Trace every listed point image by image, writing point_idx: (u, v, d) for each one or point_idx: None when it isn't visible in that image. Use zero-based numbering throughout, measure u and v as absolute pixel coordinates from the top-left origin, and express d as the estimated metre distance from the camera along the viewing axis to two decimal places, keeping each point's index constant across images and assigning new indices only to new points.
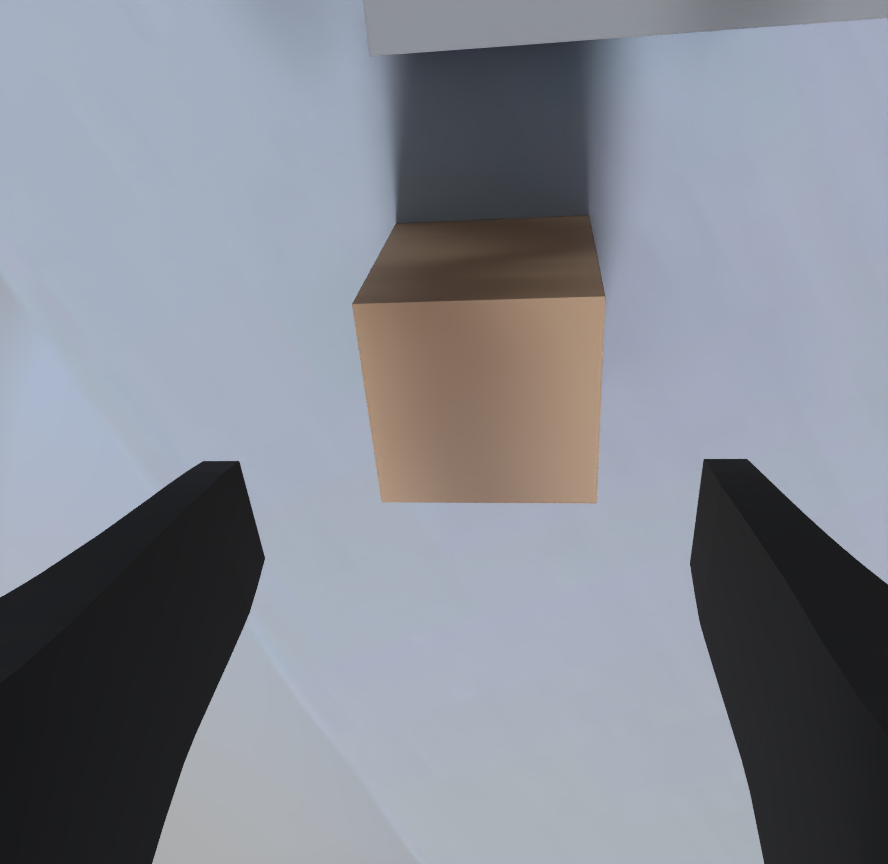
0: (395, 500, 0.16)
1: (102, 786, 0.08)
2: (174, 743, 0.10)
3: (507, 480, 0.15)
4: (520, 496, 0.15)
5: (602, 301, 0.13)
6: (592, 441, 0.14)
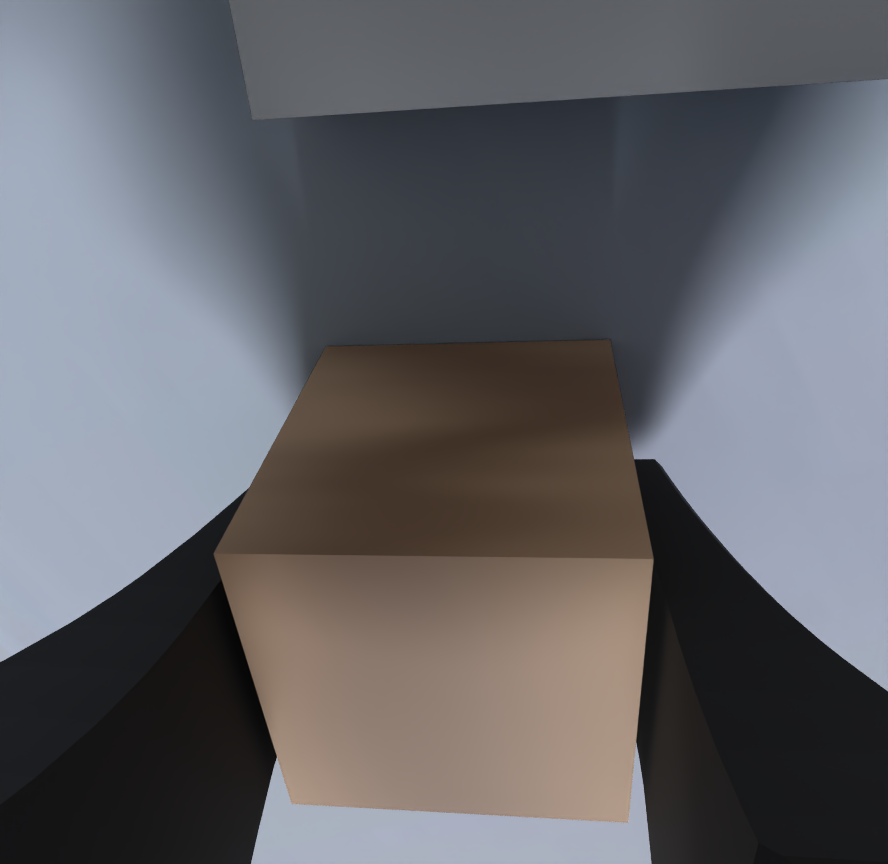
0: (312, 803, 0.10)
1: (211, 792, 0.08)
2: (266, 747, 0.10)
3: (486, 789, 0.10)
4: (507, 808, 0.10)
5: (648, 565, 0.07)
6: (624, 750, 0.09)
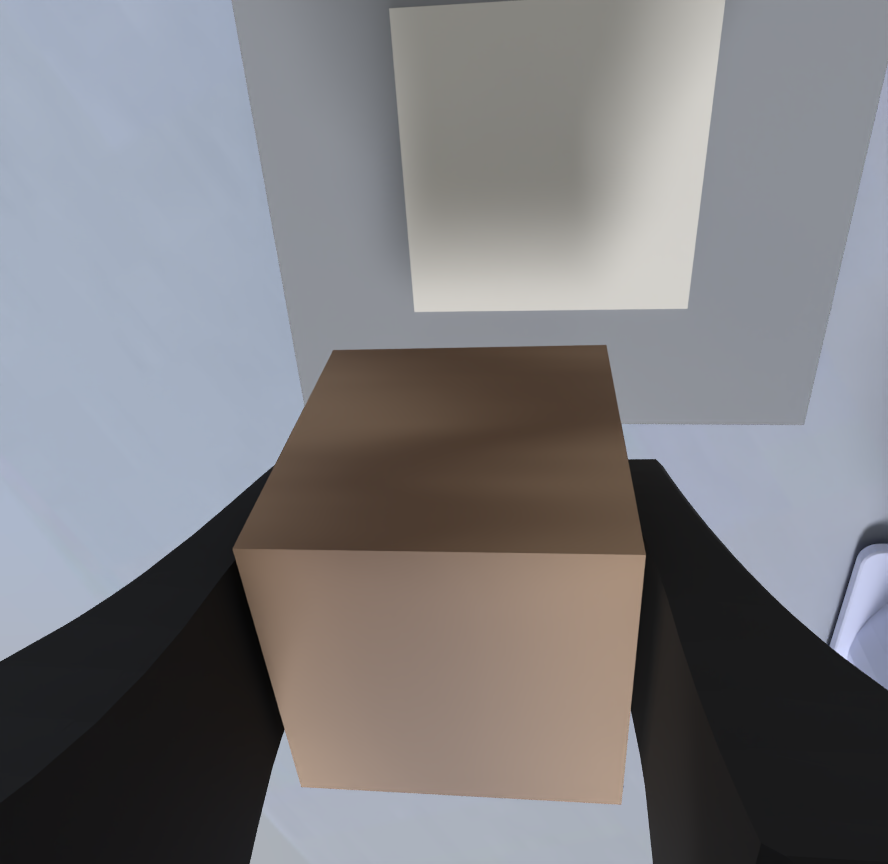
0: (321, 786, 0.11)
1: (209, 792, 0.08)
2: (264, 748, 0.10)
3: (486, 772, 0.10)
4: (506, 791, 0.10)
5: (640, 561, 0.08)
6: (617, 735, 0.09)
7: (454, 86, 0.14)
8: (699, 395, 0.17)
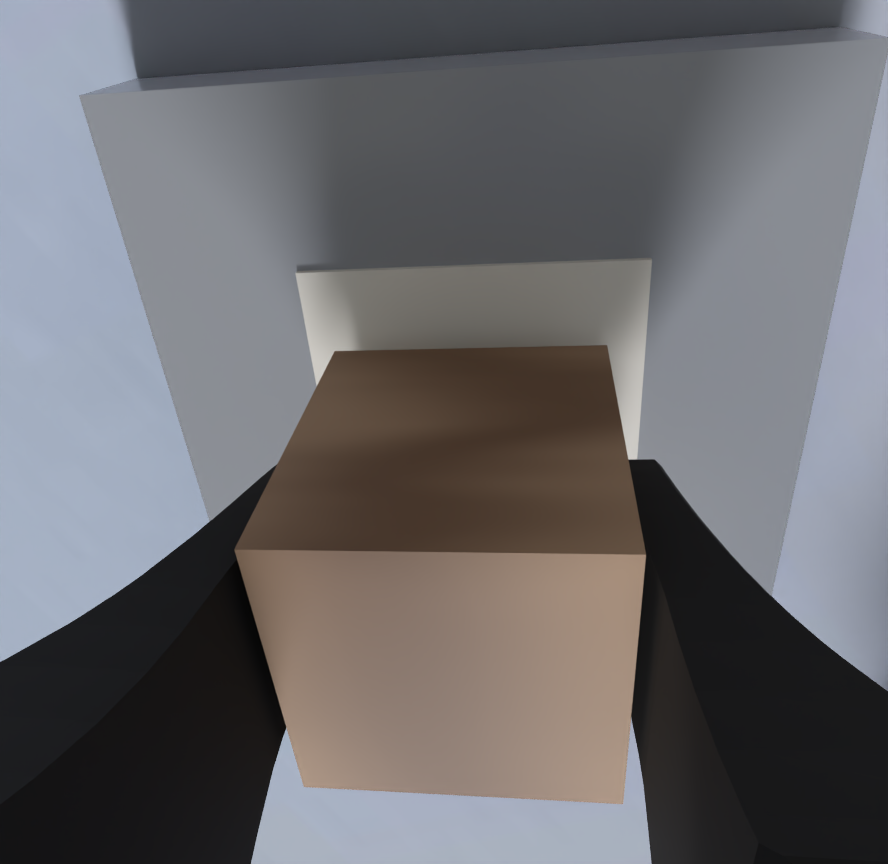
0: (324, 786, 0.11)
1: (211, 792, 0.08)
2: (265, 747, 0.10)
3: (488, 771, 0.10)
4: (508, 791, 0.10)
5: (641, 561, 0.08)
6: (619, 734, 0.09)
7: (370, 343, 0.13)
8: None
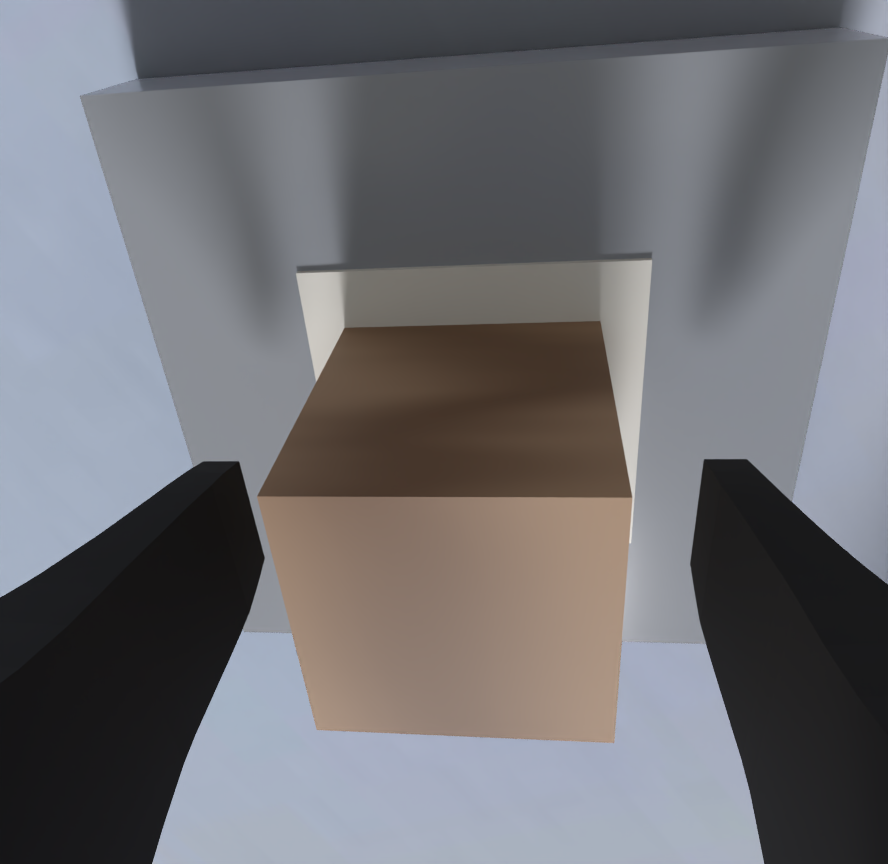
0: (335, 729, 0.11)
1: (102, 786, 0.08)
2: (174, 743, 0.10)
3: (488, 712, 0.11)
4: (507, 731, 0.11)
5: (628, 503, 0.09)
6: (609, 673, 0.10)
7: None
8: (649, 617, 0.16)
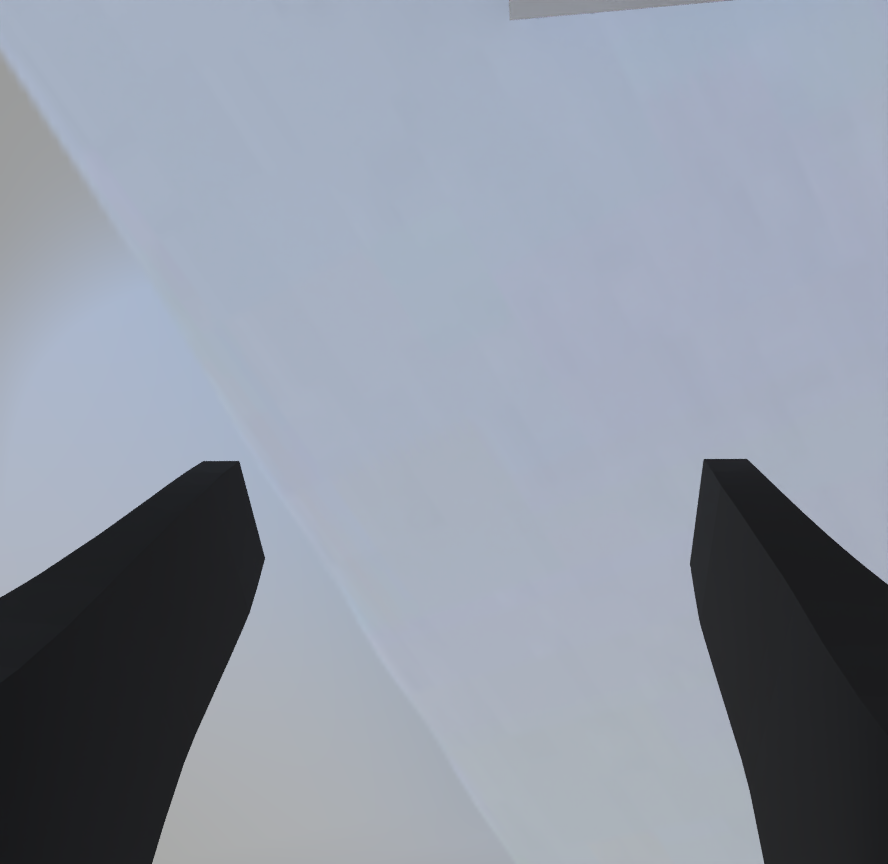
0: None
1: (102, 786, 0.08)
2: (173, 743, 0.10)
3: None
4: None
5: None
6: None
7: None
8: None
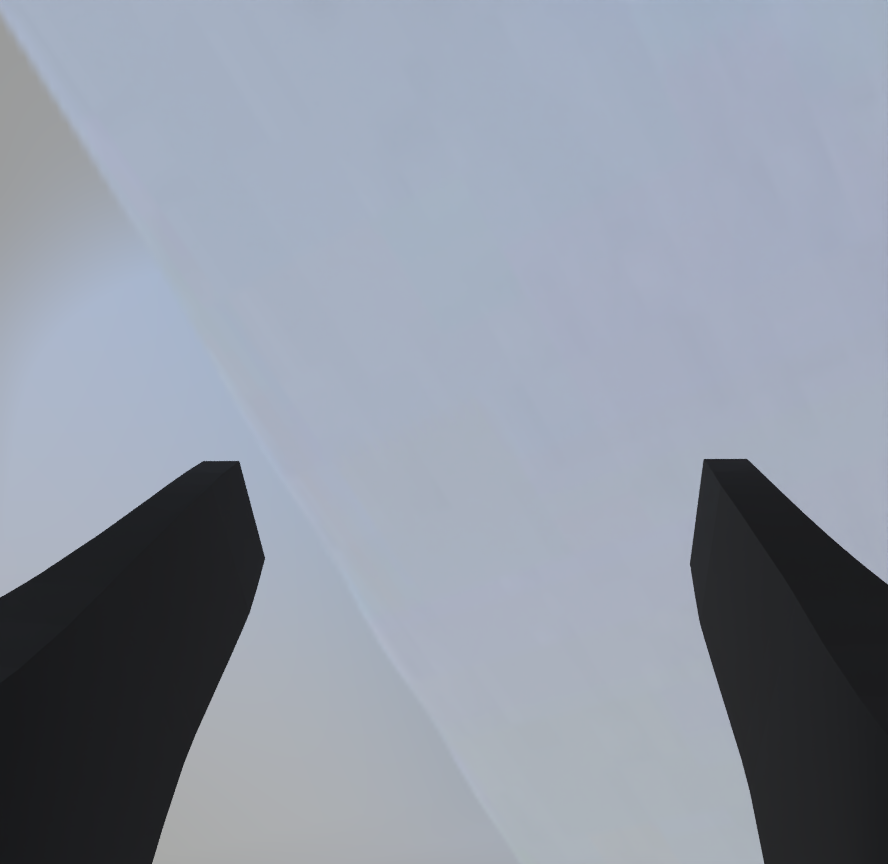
0: None
1: (102, 786, 0.08)
2: (174, 743, 0.10)
3: None
4: None
5: None
6: None
7: None
8: None
